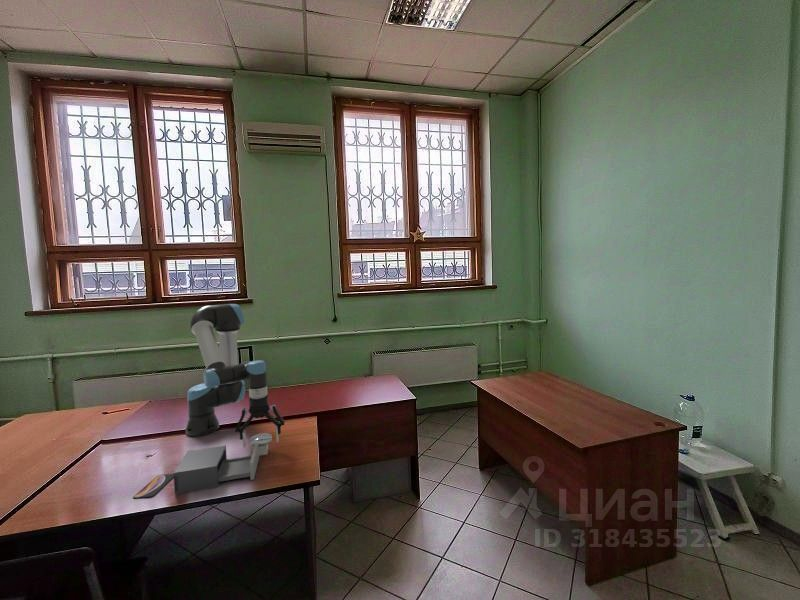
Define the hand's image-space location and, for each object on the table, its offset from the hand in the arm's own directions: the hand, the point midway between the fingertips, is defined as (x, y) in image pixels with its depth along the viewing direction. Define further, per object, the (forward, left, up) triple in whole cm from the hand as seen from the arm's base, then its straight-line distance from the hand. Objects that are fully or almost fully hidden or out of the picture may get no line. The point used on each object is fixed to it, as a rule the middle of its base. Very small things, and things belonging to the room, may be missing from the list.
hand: (261, 443), depth 154 cm
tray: (+14, -8, -4) cm, 16 cm away
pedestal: (0, 0, -4) cm, 4 cm away
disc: (0, 0, +1) cm, 1 cm away
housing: (+14, -20, -4) cm, 25 cm away
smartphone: (+14, -36, -5) cm, 39 cm away
